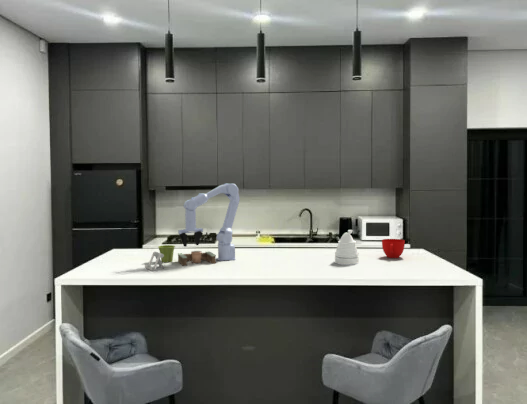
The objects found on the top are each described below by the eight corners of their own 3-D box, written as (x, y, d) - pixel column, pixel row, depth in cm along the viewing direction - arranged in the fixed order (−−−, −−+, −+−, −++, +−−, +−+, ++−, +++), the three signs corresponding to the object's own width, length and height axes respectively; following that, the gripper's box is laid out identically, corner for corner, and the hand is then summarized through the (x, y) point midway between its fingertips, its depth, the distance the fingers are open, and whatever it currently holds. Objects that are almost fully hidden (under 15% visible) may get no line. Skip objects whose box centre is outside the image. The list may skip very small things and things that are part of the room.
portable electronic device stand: (144, 268, 235) (144, 252, 235) (158, 266, 240) (158, 251, 239) (151, 271, 228) (151, 254, 228) (165, 269, 233) (165, 253, 233)
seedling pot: (200, 261, 256) (200, 250, 255) (202, 262, 250) (202, 251, 250) (190, 261, 254) (190, 251, 253) (192, 263, 248) (192, 252, 248)
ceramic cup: (379, 259, 259) (379, 242, 259) (383, 254, 275) (383, 238, 274) (402, 260, 254) (403, 243, 254) (405, 256, 270) (405, 239, 270)
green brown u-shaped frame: (209, 259, 262) (209, 251, 262) (215, 263, 249) (215, 255, 249) (177, 261, 255) (177, 253, 255) (182, 265, 242) (182, 257, 242)
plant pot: (171, 263, 249) (171, 247, 249) (155, 262, 251) (155, 247, 251) (177, 260, 259) (177, 245, 258) (162, 259, 261) (162, 245, 260)
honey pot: (360, 261, 253) (361, 229, 252) (355, 265, 241) (355, 231, 241) (338, 259, 258) (338, 228, 258) (332, 263, 247) (332, 230, 246)
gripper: (198, 220, 258) (198, 243, 259) (175, 221, 249) (176, 246, 250) (204, 220, 253) (205, 244, 254) (181, 222, 244) (182, 247, 244)
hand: (191, 245), depth 251 cm, fingers open, 7 cm apart
